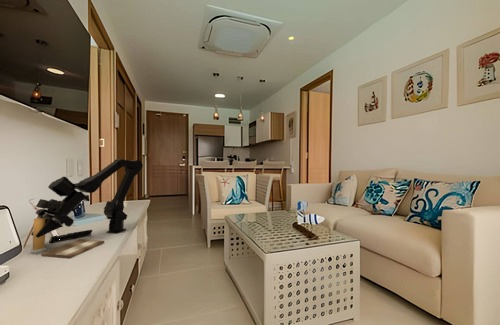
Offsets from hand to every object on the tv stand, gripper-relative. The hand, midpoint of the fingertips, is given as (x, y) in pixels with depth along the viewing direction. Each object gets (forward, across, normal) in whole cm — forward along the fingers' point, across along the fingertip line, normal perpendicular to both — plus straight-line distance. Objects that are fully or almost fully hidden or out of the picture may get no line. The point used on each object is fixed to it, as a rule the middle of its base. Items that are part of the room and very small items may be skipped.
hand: (34, 236), depth 83 cm
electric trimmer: (-6, -7, +16) cm, 18 cm away
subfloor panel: (-2, +9, +12) cm, 15 cm away
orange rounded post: (+4, 0, +6) cm, 7 cm away
